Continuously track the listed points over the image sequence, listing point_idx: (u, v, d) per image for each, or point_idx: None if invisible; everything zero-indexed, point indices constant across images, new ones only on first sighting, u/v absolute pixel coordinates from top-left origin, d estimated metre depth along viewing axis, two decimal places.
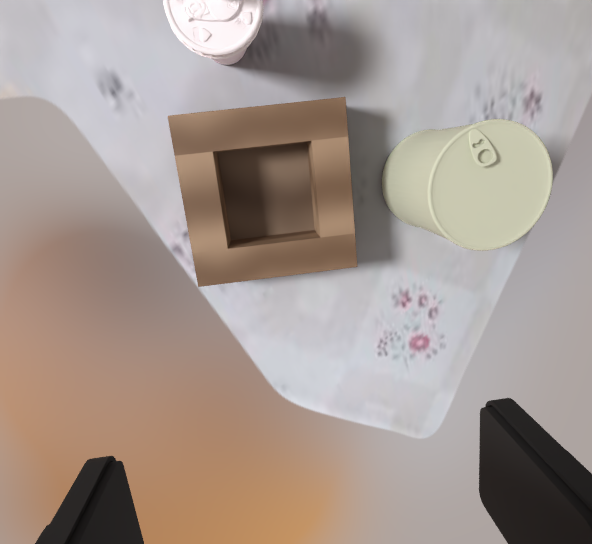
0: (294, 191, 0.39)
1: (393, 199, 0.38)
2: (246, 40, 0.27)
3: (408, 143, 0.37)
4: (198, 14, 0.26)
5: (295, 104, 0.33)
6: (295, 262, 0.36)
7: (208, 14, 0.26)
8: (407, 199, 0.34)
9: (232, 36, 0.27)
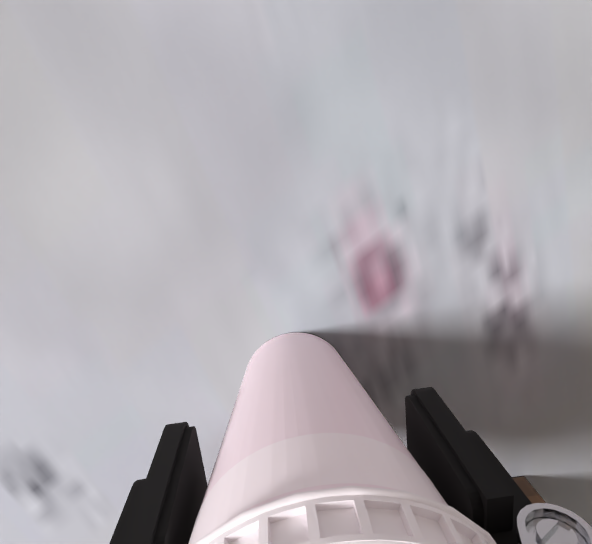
0: None
1: None
2: None
3: None
4: None
5: None
6: None
7: None
8: None
9: None
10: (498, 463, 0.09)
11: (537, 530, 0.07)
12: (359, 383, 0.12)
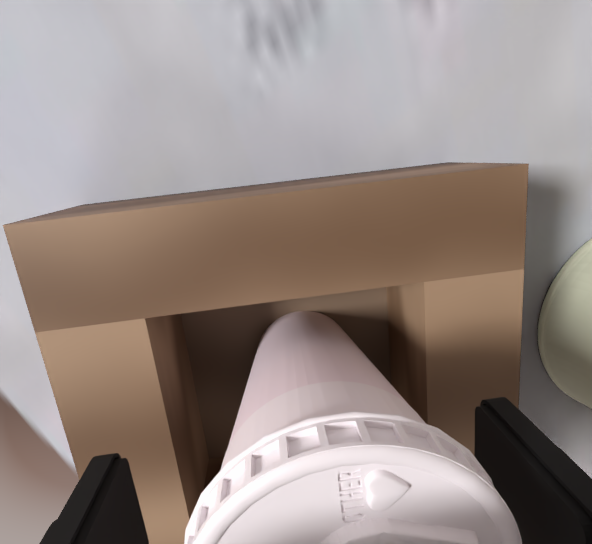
0: None
1: (586, 382, 0.16)
2: None
3: None
4: None
5: (384, 186, 0.11)
6: None
7: None
8: None
9: None
10: None
11: None
12: (361, 351, 0.14)
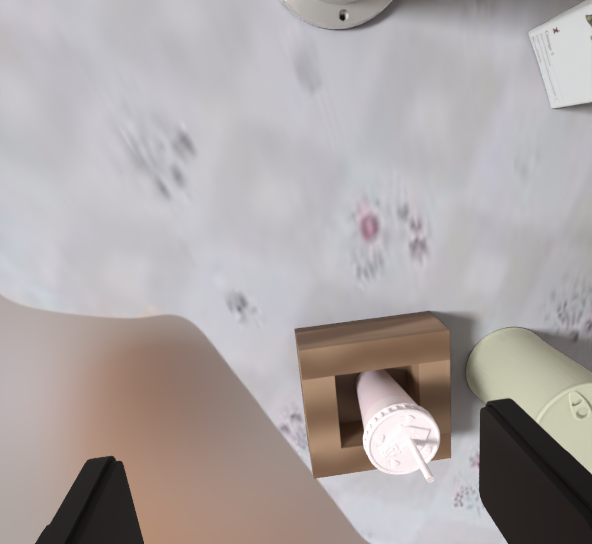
0: None
1: (480, 393, 0.43)
2: (426, 464, 0.35)
3: (495, 349, 0.42)
4: (392, 454, 0.34)
5: (407, 337, 0.38)
6: None
7: (399, 453, 0.34)
8: None
9: (415, 462, 0.35)
10: None
11: None
12: (397, 383, 0.40)
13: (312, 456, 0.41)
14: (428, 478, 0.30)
